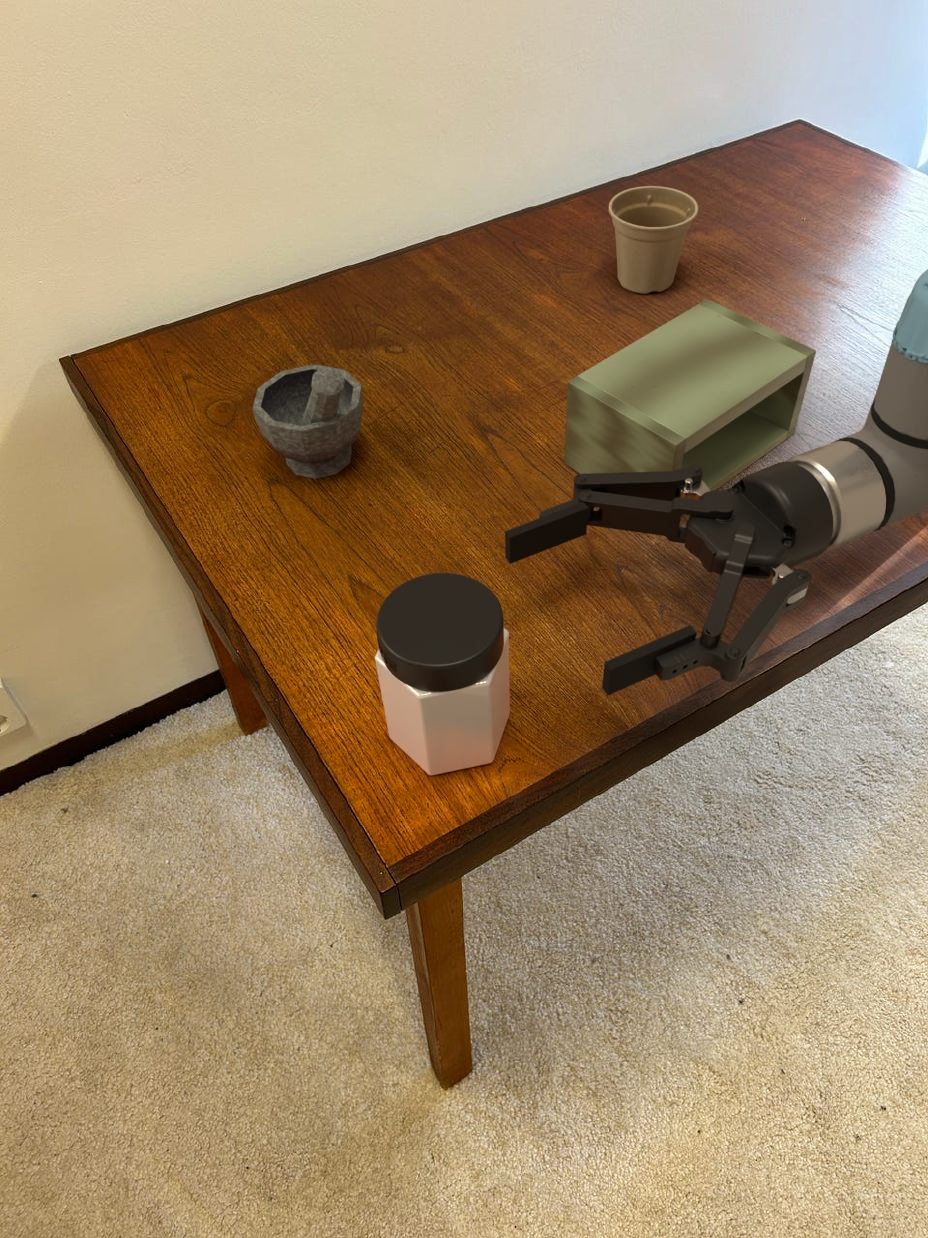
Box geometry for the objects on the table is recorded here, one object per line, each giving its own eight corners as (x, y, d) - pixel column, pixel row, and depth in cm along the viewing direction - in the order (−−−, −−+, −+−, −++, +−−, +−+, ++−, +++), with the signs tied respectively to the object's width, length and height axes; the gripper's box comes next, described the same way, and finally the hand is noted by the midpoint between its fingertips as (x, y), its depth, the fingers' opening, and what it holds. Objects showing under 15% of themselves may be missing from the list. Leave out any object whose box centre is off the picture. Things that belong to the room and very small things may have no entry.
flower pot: (685, 306, 105) (696, 229, 99) (599, 299, 107) (604, 224, 100) (689, 262, 111) (700, 187, 105) (607, 257, 113) (613, 183, 106)
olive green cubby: (794, 433, 90) (816, 350, 83) (663, 528, 83) (676, 445, 76) (693, 380, 96) (707, 298, 90) (563, 463, 89) (567, 381, 82)
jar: (417, 667, 74) (402, 556, 65) (520, 690, 72) (520, 580, 63) (375, 763, 68) (352, 656, 59) (485, 791, 66) (479, 685, 57)
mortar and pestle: (251, 450, 92) (222, 340, 83) (336, 412, 95) (317, 303, 86) (308, 513, 86) (283, 402, 77) (397, 471, 89) (383, 359, 80)
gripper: (907, 654, 67) (649, 777, 62) (697, 452, 82) (474, 536, 77) (943, 580, 61) (662, 708, 56) (710, 378, 76) (471, 463, 71)
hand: (553, 609), depth 66 cm, fingers open, 13 cm apart
